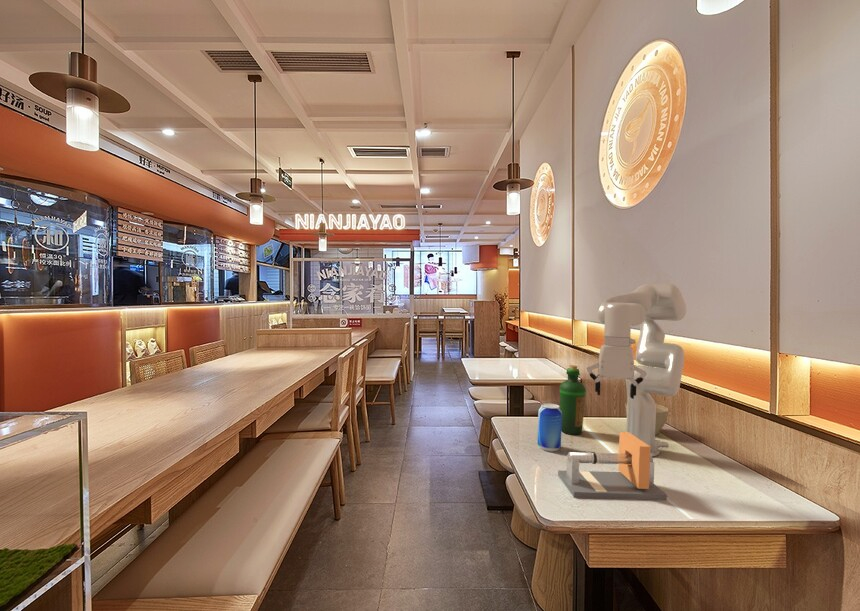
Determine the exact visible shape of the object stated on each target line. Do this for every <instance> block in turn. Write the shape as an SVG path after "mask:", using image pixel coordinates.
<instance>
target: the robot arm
mask: <svg viewBox="0 0 860 611" xmlns="http://www.w3.org/2000/svg"><path fill="white" fill-rule="evenodd" d="M686 314H687V305H686V302H685V298H684V297H683V293H682V292H681V290H680V289H679V287H677V285H675V284H673V283H645V284H642V285H639V287H637V288H635V289H634V290H633V291H632V292H628V293H624V294H620V295H615V296H612V297H609V298H606V300H604V301H603V302H602V303H601V304H600V306H599V307H598V309H597V317H598V320H599V321H600V323H602V325H603V324H604V332H603V333H604V336H603V344H601V346H600V348H599V349H600V350H599V355H598V362H596V363H595V364H592V365H588V366H587V367H586V371H587V373H588V374H589V377H590V378H591V379H592V380H593V381H594V384H595V386H594V392H595V393H596V394H597V396H601V380H602V379H603V378H607V379H618V380H625V384H626V385H625V386H626V392H627V393H626V395H627V396H626V397H627V398H626V399H627V401H626V403H627V414H626V428H625V429H626V430H625V432H629V433H631V434H632V435H634V436H635V437H637V438H638V439H640V440H641V441H643V442H644V443H646V444H647V445H649V446H650V455H651V456H652V457H657V456H659V455H660V450H659V448H668V447H669V443H668V442H667V441H661V440H660V439H656V435H655V424H656V401H655V399H653V397H652V395H651V394H654V395H660V396H665V397H666V396H667V397H675V396H676V395H677V394H678V392H679V391H680V386H681V381H682V375H683V370H684V365H685V364H684V363H685V352H684V349H683V348H682V346H680V344H676V343H671V342H669V343H668V342H665V338H666V333H665V331H664V329H663V328H662V327H661V326H660V324H658V323H657V322H656V321H670V322H671V321H672V322H673V321H674V322H675V321H676V322H677V321H682V320H683V319H684V318H685V317H686ZM638 326H639V330H640V332H639V336H638V340H637V345H636V339H633V338H632V337H631V334H632V332H631V331H632V330H631V327H638ZM632 345H636V350H635V356H634V350H633V347H632ZM635 362H636V363H637V365H635ZM638 364H639V365H638ZM595 369H598V371H597V372H598V374H597V375H595V374H594V372H593V370H595Z"/></svg>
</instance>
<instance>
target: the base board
mask: <svg viewBox="0 0 860 611" xmlns="http://www.w3.org/2000/svg"><path fill="white" fill-rule="evenodd" d="M557 476H558V478H559V479H560V481H562V483H563V484H564V486H565V487H566V488H567V490H568V491H569V492H570V494H571V495H572V497H573V498H583V499H584V498H585V499H590V498H592V499H618V500H619V499H621V500H622V499H624V500H630V499H631V500H655V499H667V497H668V496H667V493H666V492H665V491H664V490H662V489H661V488H660V487H659V486H657V485H656V484H655V483H654V486H649V489H638V488H637V487H636V486H635V485H634V484H633V483H632V482H631V481H630V480H628V479H627V478H626V477H625V476H624V475H623V474H622V473H621V472H620V471H600V470H599V471H598V470H595V471H593V470H590V471H589V470H579V483H578V484H571V483H570V481H569V480H568V479H567V470H561V469H560V470H557Z"/></svg>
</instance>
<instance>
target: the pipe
mask: <svg viewBox="0 0 860 611" xmlns="http://www.w3.org/2000/svg"><path fill="white" fill-rule="evenodd" d="M580 464H592V465H597V464H602V465H603V464H604V465H605V464H608V465H618V464H632V454H625V453H619V452H617V453H616V452H615V453H612V452H595V451H590V452H582V451H581V452H577V451H569V452H568V453H567V455H566V471H567V479H568V480H569V481H570V483H571V484H578V483H579V471H580ZM654 484H655V462H654V458H653V456H651V455H650V473H649V486H654Z"/></svg>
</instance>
